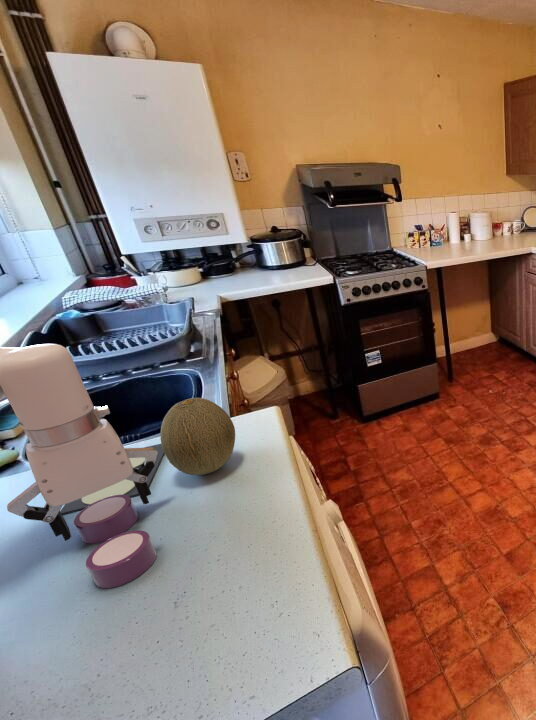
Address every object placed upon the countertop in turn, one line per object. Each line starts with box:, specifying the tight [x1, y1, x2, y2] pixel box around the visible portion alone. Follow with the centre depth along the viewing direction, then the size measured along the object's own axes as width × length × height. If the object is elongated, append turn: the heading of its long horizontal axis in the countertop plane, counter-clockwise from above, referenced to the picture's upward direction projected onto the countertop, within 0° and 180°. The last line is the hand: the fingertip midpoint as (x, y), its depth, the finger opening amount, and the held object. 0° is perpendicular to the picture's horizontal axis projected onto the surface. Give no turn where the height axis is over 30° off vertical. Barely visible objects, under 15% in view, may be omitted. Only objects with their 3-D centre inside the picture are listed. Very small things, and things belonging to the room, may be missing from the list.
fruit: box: [160, 397, 236, 476], centre depth 82 cm, size 11×11×15 cm
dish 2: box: [85, 529, 157, 589], centre depth 63 cm, size 7×7×4 cm
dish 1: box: [73, 495, 139, 544], centre depth 71 cm, size 7×7×4 cm
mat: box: [60, 443, 165, 516], centre depth 83 cm, size 12×17×1 cm
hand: (108, 516), depth 71 cm, fingers open, 9 cm apart
